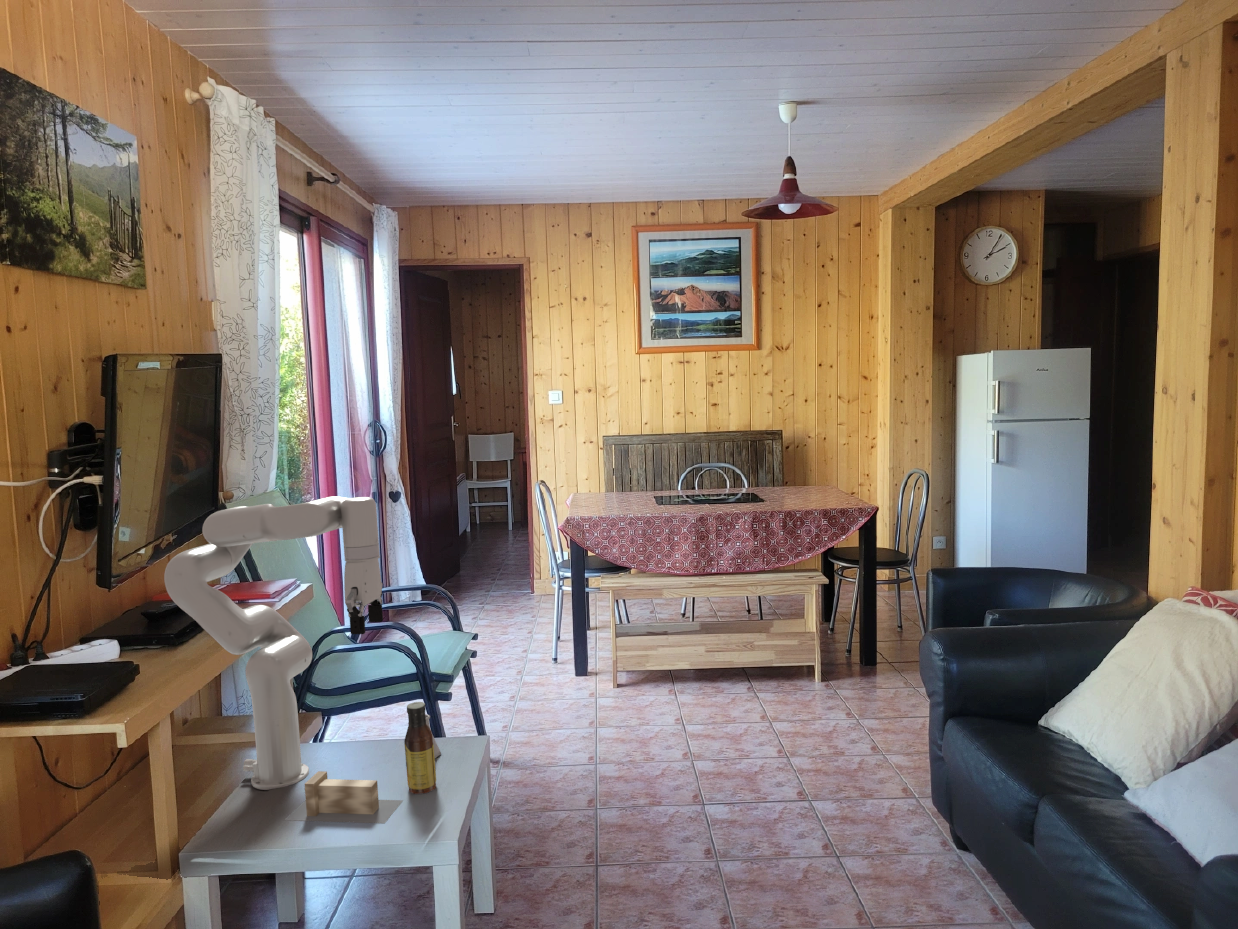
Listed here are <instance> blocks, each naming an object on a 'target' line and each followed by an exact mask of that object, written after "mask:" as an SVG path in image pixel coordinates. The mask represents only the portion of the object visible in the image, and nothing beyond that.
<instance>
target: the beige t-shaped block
mask: <svg viewBox="0 0 1238 929" xmlns="http://www.w3.org/2000/svg"><path fill="white" fill-rule="evenodd" d="M304 793H305V794H304V796H305V800H306V811H307V816H317V815H318V814H319V813H343V814H374V813H375V812H376V810H377V809H378V808H379V800H380V799H379V787H378V780H377V779H376V780H375V779H374V780H372V779H340V778H339V779H336V778H335V779H334V778H332V779H331V778H328V771H325V770H324V771H320V770H319V771H317V772H316V773H314V775H313V776H311V778H309V779H308V780H307V781H306V782H304Z"/></svg>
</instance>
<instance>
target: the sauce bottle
mask: <svg viewBox="0 0 1238 929" xmlns="http://www.w3.org/2000/svg"><path fill="white" fill-rule="evenodd" d="M406 713H407V717H408V719H407V720H408V726H407V730H406V734H405V737H404V739H403V741H404V742H403V743H404V750H405V751H404V752H405V753H404V754H405V766H406V767H405V768H406V776H407V777H406V779H407V787H408V791H409V792H410V793H412V794H416V795H417V794H418V795H422V794H427V793H429V792H431V791H432V792H433V791H434V790H435V789H436V787H437V772H436V770H437V769H436V760H435V759H436V758H435V757H434V744H433V738H432V734H433V731H432V729H431V727H430V728H429V726H428V725H427V724H426V718H425V714H426V703H425V702H423V701H415V702H411V703H409V704H407V706H406Z"/></svg>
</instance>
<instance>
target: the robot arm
mask: <svg viewBox="0 0 1238 929" xmlns="http://www.w3.org/2000/svg"><path fill="white" fill-rule="evenodd" d="M377 516H378V515H377V503H376V501H375V499H374V498H372V497H369V496H358V497H343V496H327V497H322V498H319V499H314V500H311V501H307V502H303V503H296V504H289V505H281V506H275V505H273V504H271V503H264V504H257V505H250V506H245V505H241V506H235V507H230V508H226V509H221V510H217V511H214V513H211V514H210V515H209V516H207V518H206V519H205V520H204V522H203V524H202V535H203V537H204V540H206V542H208V543H207V544H204V545H200V546H197V547H193V548H190V549H186V550H184V551H182V552H180V553H177V554H176V555H175V556H173V557H172V558H171V559H170V560H169V561H168V563H167V564H166V567H165V571H164V576H163V577H164V578H163V580H164V585H165V589H166V592H167V594H168V596H169V598H171V600H172V601H173V602H174V604H175V605H177V606H178V608H180V609H181V610H182V611H183V612H185V613H186V614H187V615H188V616H189V617H191V618H192V619H193V620H194V621H196V623H197V624H198V625H199V626H200V627H201V628H202V629H203V630H204V631H205V632H206V633H207V634H208V635H210V637H212V638H213V639H214V640H215V641H216V643H218V644H219V645H220V646H221V647H222V648H223V649H224V650H225V651H226V652H228V653H230V654H231V655H235V656H236V655H237V656H238V655H239V656H240V655H244V654H246V653H249V652H251V651H253V650H255V649H256V648H259V647H260V648H259V649H258V650H257V651H255V652H254V653H253V654H252V655H251V656H250V658H248V660H247V662H246V665H245V671H244V672H245V679H246V682H247V685H248V689H249V693H250V697H251V699H250V700H251V705H252V715H253V716H252V717H253V724H254V725H253V726H254V727H253V728H254V738H255V753H256V759H251V758H247V759H245V760H244V762H243V768H242V771H243V772H252V773H253V775H252V777H250V778H251V780H250V783H251V786H252V787H253V788H255V789H257V790H262V791H263V790H264V791H269V790H271V789H272V790H273V789H279V788H280V789H281V788H285V787H288V786H291V785H294V784H296V783H299V782H301V781H302V780H304V779H305V778H307V776H308V775H309V773H310V768H309V766H308V765H307V764H305V763H302V753H301V740H300V739H301V738H300V727H299V726H300V725H299V715H298V703H297V702H298V701H297V696H296V693H295V692H294V689H293V687H292V685H291V680H292V679H293V678H294V677H296V676H297V675H300V674H301V673H302V672H304V671H305V670H306V669H307V668H309V666H310V664H311V663H312V660H313V650H312V647H311V644H310V642H308V640H307V639H306V638H305V637H304V636H303V634H302V633H301V632H299V631H298V630H297V629H296V628H295V627H294V626H293V625H292V624H291V623H290V622H289V621H288V620H287V619H286V618H284V616H282V615H281V614H280V613H279V612H278V611H277V610H275V609H273V608H272V607H270V606H268V605H265V604H255V605H251V606H248V607H245V608H241V607H240V606H239V605H238V604H236V603H235V602H234V601H233V600H232V599H231V598H230V597H229V596H228V595H227V594H225V593H224V592H223V591H222V590H219V589H217V588H214V587H212V586H210V585H209V584H208V582H211V581H214V580H216V579H220V578H222V577H225V576H227V575H229V574H230V573H231V572H233V570H234V569H235V568H236V567H237V566H238V565H239V563H240V562H241V561H242V559H243V558H244V556H245V555H247V552H248V551H249V550H250V548H251V547H252V545H253V544H258V543H266V542H277V541H287V540H288V541H289V540H290V541H291V540H295V539H304V538H305V539H306V538H310V537H311V538H312V537H317V536H320V535H324V534H325V533H329V532H331V531H335V530H339V529H341V530H342V539H343V540H342V542H343V552H344V553H343V554H344V563H345V564H344V572H343V574H344V576H343V577H344V579H343V580H344V581H343V582H344V585H343V586H344V588H343V589H344V591H343V592H344V604H345V606H346V611H347V612H348V618H349V626H350V627H349V628H350V630H349V631H350V634H351V635H364V634H366V622H365V615H364V614H363V613H364V609H365V607H366V606H367V611H368V622H369V623H383V622H384V617H383V616H384V613H383V612H384V611H383V605H382V604H383V598H382V596H383V582H382V577H381V569H380V568H381V567H380V561H379V559H380V557H381V555H380V544H379V542H380V541H379V529H378V528H379V526H378V517H377Z"/></svg>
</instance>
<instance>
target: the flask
mask: <svg viewBox="0 0 1238 929" xmlns="http://www.w3.org/2000/svg"><path fill="white" fill-rule="evenodd" d="M425 718H426V724H427V725H428V726H429V728H430V729H431V725H430V719H431V715H430V714H426V713H425ZM432 738H433V744H434V757H435V759H436V758H438V757H439V756H440V755H441V754H442V752H441V749H440V748H439V745H438V743H437V741H436V739H435V737H434V735H433V733H432Z"/></svg>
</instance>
